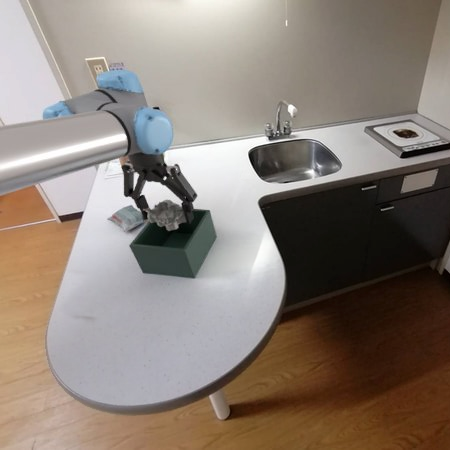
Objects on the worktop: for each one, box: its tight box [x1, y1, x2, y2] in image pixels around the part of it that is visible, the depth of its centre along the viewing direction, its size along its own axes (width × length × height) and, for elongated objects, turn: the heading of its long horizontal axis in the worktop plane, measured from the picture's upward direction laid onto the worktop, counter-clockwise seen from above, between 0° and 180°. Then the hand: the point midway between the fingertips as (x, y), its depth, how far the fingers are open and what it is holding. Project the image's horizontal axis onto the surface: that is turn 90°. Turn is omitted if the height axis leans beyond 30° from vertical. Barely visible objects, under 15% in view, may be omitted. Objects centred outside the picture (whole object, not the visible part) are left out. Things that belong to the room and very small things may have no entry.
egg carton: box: [143, 199, 186, 231], centre depth 83 cm, size 11×8×4 cm
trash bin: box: [128, 208, 217, 279], centre depth 89 cm, size 16×18×11 cm
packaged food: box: [106, 204, 149, 233], centre depth 103 cm, size 9×12×5 cm
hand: (169, 218), depth 84 cm, fingers closed on egg carton, 12 cm apart
